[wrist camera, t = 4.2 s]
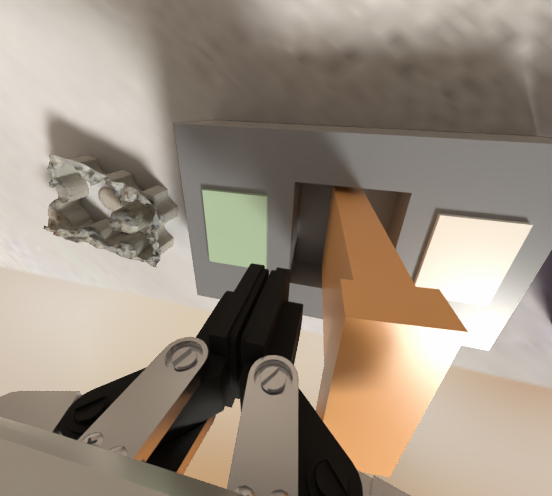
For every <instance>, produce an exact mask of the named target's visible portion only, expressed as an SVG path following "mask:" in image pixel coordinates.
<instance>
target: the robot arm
mask: <svg viewBox="0 0 552 496" xmlns="http://www.w3.org/2000/svg"><path fill="white" fill-rule="evenodd" d="M289 286H290V269H285V268H279V267H277V268H276V271H275V270H271V272H270V274H269V270H268V269H265V266H264V265H259V264H253V263H251V264H250V265H249V267H248V269H247V270H246V272H245V274H244V275H243V277H242V279H241V280H240V282H239V284H238V285H237V287H236V289H235V290H234V292H233V291H226V292H225V293H224V295H223V296H222V298H221V299H220V301H219V303H218V304H217V306H216V307H215V309H214V310H213V312H212V313H211V315H210V316H209V318H208V320H207V321H206V323H205V324H204V326H203V327H202V329H201V330H200V332H199V334H198V335H197V337H196V338H194V337H186V338H182V339H178V340H176V341H174V342H172V343H171V344H169V345H168V346H167V347H166V348H165V349H164V350H163V351H162V352H161V353H160V354H159V355H158V356H157V357H156V358H155V359H154V360H153V362H151V364H150V365H149V366H148V367H146V368H144V369H142V370H139V371H137V372H134V373H132V374H129V375H127V376H125V377H122V378H120V379H117V380H115V381H113V382H110V383H108V384H106V385H103V386H100V387H98V388H96V389H93V390H91V391H89V392H87V393H86V394H84V395H81V393H80V392H79V391H78V392H77V391H76V392H73V391H72V392H71V391H18V392H12V393H9V394H6V395H3V396H1V397H0V496H410V495H408V494H406V493H405V492H403V491H401V490H399V489H397V488H396V487H394V486H392V485H390V484H389V483H387V482H385V481H383V480H381V479H380V478H378V477H376V476H373V478H371V477H369V476H367V475H365V474H364V473H362V472H360V471H358V470H357V469H356V467H355V466H354V464H353V462H352V461H351V459H350V458H349V457H348V455H347V454H346V453H345V451H344V450H343V448H342V447H341V446H340V444H339V443H338V441H337V440H336V439H335V437H334V436H333V435H332V433H331V432H330V430H329V429H328V428H327V426H326V425H325V424H324V422H323V421H322V419H321V418H320V417H319V415H318V414H317V412H316V411H315V410H314V408H313V407H312V406H311V404H310V403H309V401H308V400H307V399H306V397H305V396H304V395H303V393H302V392H301V391H300V389H299V388H298V374H297V370H296V368H295V366H294V361H295V356H296V351H297V346H298V341H299V336H300V330H301V323H302V314H303V304H301V303H295V302H289V301H288V300H289ZM235 398H237V399H240V402H241V417H240V422H239V427H238V433H237V438H236V443H235V449H234V454H233V460H232V464H231V470H230V475H229V480H228V486H227V489H224V488H221V487H218V486H215V485H212V484H209V483H206V482H203V481H200V480H197V479H194V478H191V477H188V476H185V475H183V474H184V473H185V471H186V469H187V467H188V466H189V464H190V462H191V460H192V459H193V457H194V455H195V453H196V451H197V450H198V448H199V446H200V444H201V443H202V441H203V439H204V438H205V436H206V434H207V432H208V431H209V429H210V427H211V425H212V424H213V422H214V419H215V417H216V414H217V413H219V412H221V411H223V410H224V407H225V406H228V407H232V405H233V403H234V400H235Z"/></svg>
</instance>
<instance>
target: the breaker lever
mask: <svg viewBox="0 0 552 496" xmlns="http://www.w3.org/2000/svg"><path fill="white" fill-rule="evenodd" d="M322 296H323V332H324V370H323V375H322V380H321V386H320V391H319V396H318V402H317V407H316V412H317V414H318V415H319V417H320V418H321V419H322V421H323V422H324V424H325V425H326V426H327V428H328V429H329V430H330V432H331V433H332V435H333V436H334V437H335V439H336V440H337V441H338V443H339V444H340V446H341V447H342V448H343V450H344V451H345V453H346V454H347V455H348V457H349V458H350V459H351V461H352V462H353V464H354V466H355V467H356V469H357V470H358V471H360V472H364V473H370V474H375V475H381V476H386V477H390V476H391V474H392V472H393V470H394V469H395V467H396V465H397V463H398V461H399V459H400V457H401V455H402V454H403V452H404V450H405V448H406V446H407V445H408V443H409V441H410V439H411V437H412V435H413V433H414V432H415V430H416V428H417V426H418V424H419V422H420V420H421V418H422V417H423V415H424V413H425V411H426V409H427V407H428V406H429V404H430V402H431V400H432V398H433V396H434V395H435V393H436V391H437V389H438V387H439V385H440V383H441V382H442V380H443V378H444V376H445V374H446V372H447V370H448V369H449V367H450V365H451V363H452V361H453V359H454V358H455V356H456V354H457V352H458V350H459V348H460V346H461V345H462V343H463V341H464V339H465V337H466V335H467V333H468V331H467V330H466V328H465V327H464V325H463V324H462V322H461V321H460V319H459V318H458V316H457V315H456V313H455V312H454V310H453V309H452V307H451V306H450V304H449V303H448V301H447V300H446V298H445V297H444V295H443V294H442V292H441V291H440V289H432V288H423V287H416V286H415V284H414V282H413V280H412V279H411V277H410V275H409V273H408V271H407V270H406V268H405V266H404V264H403V262H402V260H401V259H400V257H399V255H398V253H397V251H396V250H395V248H394V246H393V244H392V242H391V240H390V239H389V237H388V235H387V233H386V231H385V230H384V228H383V226H382V224H381V222H380V220H379V219H378V217H377V215H376V213H375V211H374V210H373V208H372V206H371V204H370V202H369V200H368V199H367V197H366V195H365V193H364V191H363V190H362V188H353V187H343V186H332V192H331V200H330V207H329V214H328V221H327V229H326V236H325V243H324V250H323V258H322Z"/></svg>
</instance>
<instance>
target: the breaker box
mask: <svg viewBox="0 0 552 496" xmlns="http://www.w3.org/2000/svg"><path fill="white" fill-rule="evenodd" d="M173 126H174V133H175V140H176V147H177V154H178V161H179V168H180V175H181V182H182V189H183V196H184V203H185V210H186V217H187V224H188V231H189V238H190V245H191V252H192V259H193V266H194V273H195V280H196V287H197V294H198V295H201V296H206V297H211V298H217V299H221V298H222V296H223V295H224V293H225V292H226V291H233V292H234V290H235V289H236V287H237V285H238V284H239V282H240V280H241V279H242V277H243V275H244V274H245V272H246V270H247V269H248V267H249V265H250V264H251V263H253V264H259V265H264V266H265V269H268V270H269V274H270V272H271V270H275V271H276V268H277V267H279V268H285V269H290V286H289V300H288V301H289V302H295V303H301V304H303V314H302V315H305V316H310V317H316V318H321V319H323V296H322V258H323V250H324V243H325V236H326V229H327V221H328V214H329V207H330V200H331V192H332V186H343V187H353V188H362V190H363V191H364V193H365V195H366V197H367V199H368V200H369V202H370V204H371V206H372V208H373V210H374V211H375V213H376V215H377V217H378V219H379V220H380V222H381V224H382V226H383V228H384V230H385V231H386V233H387V235H388V237H389V239H390V240H391V242H392V244H393V246H394V248H395V250H396V251H397V253H398V255H399V257H400V259H401V260H402V262H403V264H404V266H405V268H406V270H407V271H408V273H409V275H410V277H411V279H412V280H413V282H414V284H415V286H416V287H423V288H432V289H440V291H441V292H442V294H443V295H444V297H445V298H446V300H447V301H448V303H449V304H450V306H451V307H452V309H453V310H454V312H455V313H456V315H457V316H458V318H459V319H460V321H461V322H462V324H463V325H464V327H465V328H466V330H467V331H468V333H467V335H466V337H465V339H464V341H463V343H462V345H461V346H467V347H472V348H477V349H482V350H487V351H489V350H490V348H491V347H492V345H493V343H494V342H495V340H496V339H497V337H498V335H499V334H500V332H501V331H502V329H503V327H504V326H505V324H506V323H507V321H508V319H509V318H510V316H511V315H512V313H513V311H514V310H515V308H516V307H517V305H518V303H519V302H520V300H521V298H522V297H523V295H524V294H525V292H526V290H527V289H528V287H529V286H530V284H531V282H532V281H533V279H534V278H535V276H536V274H537V273H538V271H539V270H540V268H541V266H542V265H543V263H544V262H545V260H546V258H547V257H548V255H549V254H550V252H551V250H552V138H547V137H540V136H524V135H504V134H484V133H464V132H444V131H424V130H404V129H384V128H364V127H344V126H324V125H304V124H284V123H264V122H244V121H224V120H207V121H195V122H183V123H173Z"/></svg>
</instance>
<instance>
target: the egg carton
mask: <svg viewBox="0 0 552 496" xmlns="http://www.w3.org/2000/svg"><path fill="white" fill-rule="evenodd" d="M49 157H50V162H49V166H48V168H47V169H48V170H51V172H52V180H51V182H50V183H49V186H50V187H51V188H54V187H57V191H58V199H56V200H54V201H53V202H52V203H51V204H50V205H49V208H48V216H49V220H48V227H46V226H44V229H46V230H47V231H50V232H54V235H56V236H60V237H63V238H65V239H66V240H70V241H74V242H76V243H78V242H87V243H90V244H91V245H93V246H94V247H96V248H98V249H106V250H108V251H111V252H114V253H116V254H118V255H119V256H121V257H124V258H128V259H133V260H140V261H141V262H147V263H149V264H150V265H151V266H153V267H156V264H157V263H158V262H159V261H160V255H161V254H162V253H164V252H165V251H166V250H168V249H169V248H170V247H172V246H173V241H174V238H173V237H172V236H171V235H169V234H168V233H167V231H166V230H165V227H164V223H166V222H167V221H169V220H171V219H173V218H174V217H176V216H177V213H178V206H176V205H175V204H174V203H173V202H172V201H171V200H170V198H169V195H168V189H166V188H164V187H162V186H159V185H156V186H154V187H151V188H149V189H147V190H145V191H142V190H141V189H139V188H138V187H137V185H136V184H135V182H134V179H133V175H132V174H131V173H129V172H127V171H125V170H120V171H117V172H113V173H111V174H105V173H104V172H103V171H102V170H101V168H100V167H99V164H98V160H97V159H96V158H94V157H92V156H89V155H84V156H80V157H75V158H70V159H66V158H63V157H60V156H57V155H49ZM77 172H78V173H79V174H80V175H79V174H77ZM84 179H85V180H86V181H88V182H90V184H91V186H92V185H95V184H97V183H100V182H103V181H106V180H110V181H106V184H107V185H109V186H112V187H113V188H114V191H113V190H112V189H110V188H102V189H101V190H100V191H99V199H100V201H101V202H102V204H103V205H104V206H105V207H106V208H108V209H109V210H112V211H114V212H112V214H111V219H103V220H100V221H98V222H94V221H93V220H92V219H91V218H90V215H89V214H88V212H87V211H86V210H85V209H84V208H83V207H81V206H80V203H79V199H80V198H83V197H86V196H87V195H88V194H89V188H88V185H87V183H86V181H85V180H84ZM119 196H120V197H121V198H119ZM136 199H137V200H139V201H140V202H139V201H138V202H134V203H132V204H129V205H127V206H125V207H122V208H120V207H121V201H126V202H133V201H134V200H136ZM120 200H121V201H120ZM146 203H148V204H151V205H152V206H153V207H154V209H155V214H154V215H153V212H152V210H151V208H150V207H149V206H148V205H147V204H146ZM152 222H153V225H151V227H150V228H149V229H148V230H147V231H146V235H144V234H143V233H140V232H137V231H139V230H141V229H143V228H144V227H146V226H148V225H149V224H151V223H152ZM121 231H122V232H126V233H130V235H125V234H122V233H121ZM149 239H150V241H149ZM151 245H152V247H151Z"/></svg>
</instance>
